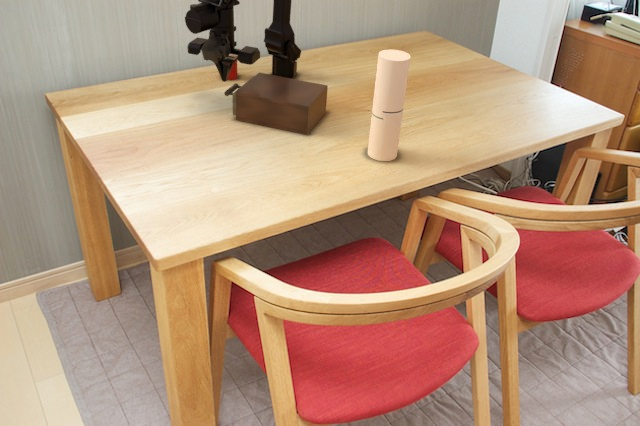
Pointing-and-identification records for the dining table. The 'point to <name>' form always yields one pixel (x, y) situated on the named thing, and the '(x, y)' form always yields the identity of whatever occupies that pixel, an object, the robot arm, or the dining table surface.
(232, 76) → the ketchup bottle
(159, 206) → the dining table surface
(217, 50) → the robot arm
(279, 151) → the dining table surface
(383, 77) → the cylindrical container
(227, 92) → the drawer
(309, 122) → the cabinet
